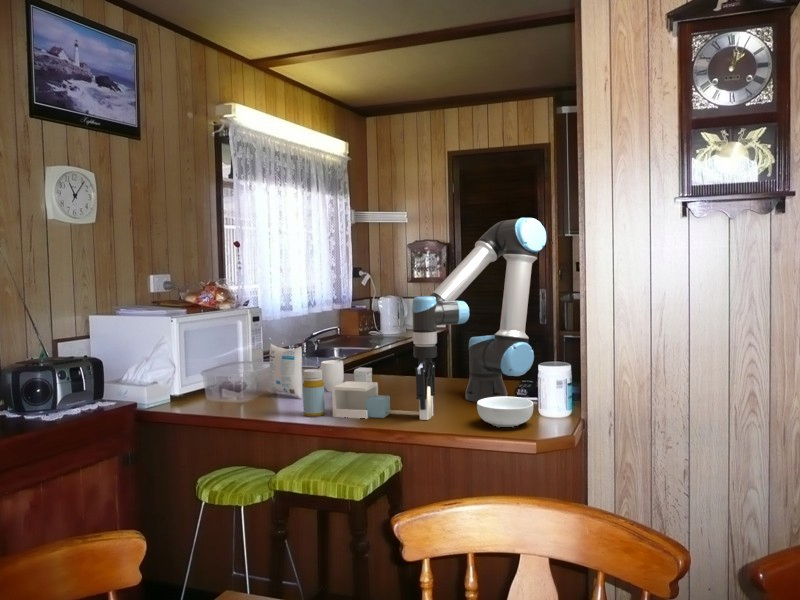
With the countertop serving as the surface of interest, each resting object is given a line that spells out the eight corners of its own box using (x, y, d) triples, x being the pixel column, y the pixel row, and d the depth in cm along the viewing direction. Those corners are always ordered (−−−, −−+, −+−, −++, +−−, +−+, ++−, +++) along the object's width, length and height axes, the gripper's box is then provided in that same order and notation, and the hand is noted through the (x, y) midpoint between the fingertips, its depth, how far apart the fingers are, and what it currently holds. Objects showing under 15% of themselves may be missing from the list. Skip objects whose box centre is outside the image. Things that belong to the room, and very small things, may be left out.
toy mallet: (433, 416, 206) (432, 385, 205) (428, 420, 200) (427, 389, 200) (373, 412, 213) (372, 383, 213) (366, 416, 208) (365, 386, 207)
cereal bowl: (466, 425, 193) (465, 402, 193) (499, 415, 205) (498, 394, 204) (512, 435, 181) (511, 410, 181) (544, 423, 193) (544, 400, 192)
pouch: (292, 401, 237) (290, 347, 236) (264, 394, 251) (262, 344, 250) (309, 397, 243) (307, 345, 242) (281, 391, 256) (279, 342, 255)
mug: (349, 389, 256) (347, 360, 255) (333, 394, 249) (332, 364, 248) (328, 387, 263) (327, 358, 262) (313, 391, 256) (311, 361, 255)
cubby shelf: (378, 411, 215) (377, 382, 215) (366, 418, 205) (365, 388, 205) (346, 409, 219) (345, 381, 219) (332, 416, 210) (331, 386, 209)
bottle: (314, 411, 218) (313, 368, 218) (329, 414, 214) (327, 369, 213) (299, 415, 213) (297, 371, 212) (313, 418, 208) (312, 372, 208)
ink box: (367, 403, 230) (366, 370, 229) (353, 403, 231) (352, 370, 230) (372, 398, 238) (371, 366, 237) (360, 398, 239) (359, 366, 238)
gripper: (422, 341, 212) (423, 411, 213) (404, 348, 196) (406, 423, 197) (444, 342, 209) (445, 412, 210) (427, 348, 193) (429, 424, 194)
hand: (426, 417), depth 204 cm, fingers open, 4 cm apart
